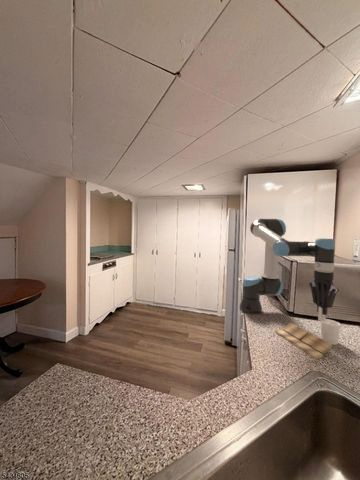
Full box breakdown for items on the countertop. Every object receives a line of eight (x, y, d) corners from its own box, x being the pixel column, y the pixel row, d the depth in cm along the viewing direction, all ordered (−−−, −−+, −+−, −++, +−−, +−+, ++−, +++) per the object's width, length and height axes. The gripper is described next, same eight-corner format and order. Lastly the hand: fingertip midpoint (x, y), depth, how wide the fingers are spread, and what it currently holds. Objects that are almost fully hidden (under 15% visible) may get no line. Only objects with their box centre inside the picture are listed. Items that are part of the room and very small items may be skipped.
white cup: (339, 347, 98) (340, 327, 98) (319, 342, 103) (320, 322, 102) (339, 340, 104) (340, 321, 104) (320, 335, 109) (321, 317, 109)
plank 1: (283, 330, 113) (282, 328, 112) (291, 324, 114) (290, 322, 114) (300, 340, 102) (299, 339, 102) (308, 333, 103) (307, 331, 103)
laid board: (275, 332, 112) (275, 330, 112) (282, 331, 113) (282, 329, 113) (315, 358, 89) (315, 355, 89) (323, 357, 90) (323, 354, 90)
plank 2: (302, 341, 101) (301, 340, 101) (310, 334, 102) (309, 332, 102) (323, 354, 91) (322, 352, 90) (332, 346, 92) (331, 344, 92)
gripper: (305, 268, 101) (303, 315, 102) (331, 274, 89) (329, 327, 89) (316, 268, 103) (315, 314, 104) (344, 273, 91) (341, 325, 91)
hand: (321, 320), depth 97 cm, fingers closed
